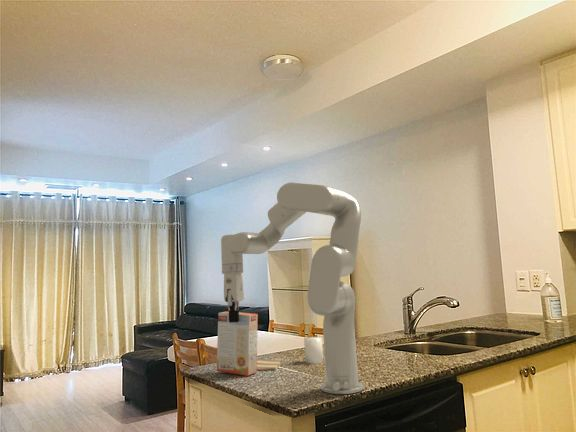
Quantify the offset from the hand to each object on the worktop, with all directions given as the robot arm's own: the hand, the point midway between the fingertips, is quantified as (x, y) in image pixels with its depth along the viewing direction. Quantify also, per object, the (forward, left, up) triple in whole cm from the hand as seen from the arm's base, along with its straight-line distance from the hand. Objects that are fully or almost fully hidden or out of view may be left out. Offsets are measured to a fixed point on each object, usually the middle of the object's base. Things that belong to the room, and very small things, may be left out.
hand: (234, 322), depth 152 cm
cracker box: (+6, +1, -18) cm, 19 cm away
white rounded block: (+24, -25, -19) cm, 39 cm away
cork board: (+18, -3, -19) cm, 26 cm away
